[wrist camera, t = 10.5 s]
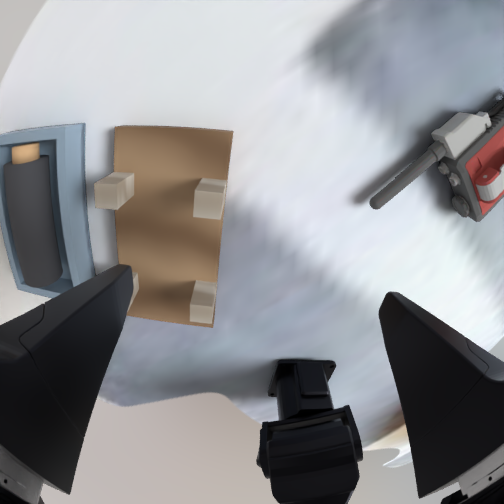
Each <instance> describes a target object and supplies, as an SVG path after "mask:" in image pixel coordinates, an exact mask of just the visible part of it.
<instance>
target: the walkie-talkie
mask: <svg viewBox="0 0 504 504" xmlns="http://www.w3.org/2000/svg"><path fill="white" fill-rule="evenodd" d="M431 135H432V137H433V139H434V141H435V142H434V143H433V144H432V145H430V146H429V147H428V148H427V151H426V152H425V153H424V154H423V155H422V156H420V157H419V158H418V159H417V160H416V161H415V162H413V163H412V164H411V165H410V166H409V167H407V168H406V169H405V170H404V171H403V172H401V173H400V174H399V175H398V176H396V177H395V179H394V180H393V181H392V182H390V183H389V184H388V185H387V186H386V187H384V188H383V189H382V190H381V191H380V192H378V193H377V194H376V195H375V196H374V197H372V198H371V200H370V206H371V207H372V208H373V209H380V208H381V207H382V206H383V205H385V204H386V203H387V202H388V201H389V200H391V199H392V198H393V197H394V196H395V195H397V194H398V193H399V192H400V191H401V190H403V189H404V188H405V187H406V186H407V185H409V184H410V183H411V182H412V181H413V180H415V179H416V178H417V177H418V176H419V175H420V174H422V173H423V172H424V171H425V170H426V169H427V168H429V167H430V166H431V165H432V164H433V163H434V162H435V161H437V162H438V161H439V160H440V164H441V165H440V166H439V167H438V169H439V171H440V172H441V173H442V174H444V175H445V174H446V175H447V177H448V180H449V182H450V184H451V187H452V189H453V191H454V194H455V196H454V197H453V198H452V204H453V206H454V208H455V209H456V211H457V212H458V213H459V214H460V215H461V216H462V217H467V216H469V217H470V218H472V219H473V220H474V221H476V222H479V221H481V220H482V219H483V218H484V217H485V216H486V215H487V214H488V213H489V212H490V211H491V210H492V209H493V208H494V207H495V206H496V204H497V203H498V202H499V201H500V200H501V199H502V198H503V197H504V98H503V99H502V100H500V102H498V103H497V105H495V107H492V110H491V109H490V111H489V112H480V111H479V112H478V113H477V114H476V115H473V114H468V113H462V112H458V113H457V114H456V115H455V116H453V117H452V118H451V119H450V120H449V121H448V122H446V123H445V124H444V125H443V126H442V127H440V128H439V129H435V130H434V131H433V132H432V133H431Z"/></svg>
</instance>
